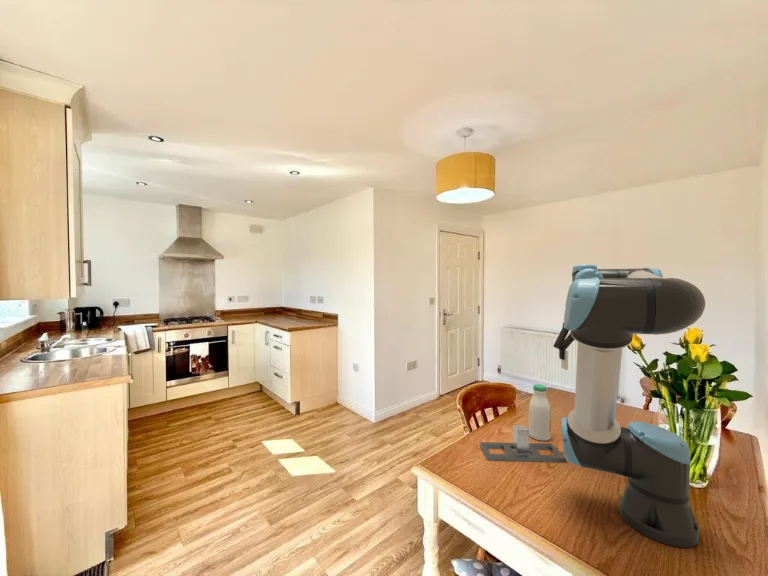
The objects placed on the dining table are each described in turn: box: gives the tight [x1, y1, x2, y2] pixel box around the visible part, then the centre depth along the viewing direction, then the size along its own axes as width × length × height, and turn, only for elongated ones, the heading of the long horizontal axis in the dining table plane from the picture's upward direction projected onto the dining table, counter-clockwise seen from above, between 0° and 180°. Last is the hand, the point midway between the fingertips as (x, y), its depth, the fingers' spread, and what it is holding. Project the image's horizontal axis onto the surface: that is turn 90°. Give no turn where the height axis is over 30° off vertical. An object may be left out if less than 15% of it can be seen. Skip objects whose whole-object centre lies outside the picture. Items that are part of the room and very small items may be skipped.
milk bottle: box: [528, 383, 552, 442], centre depth 125 cm, size 8×8×20 cm
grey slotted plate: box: [479, 441, 567, 463], centre depth 113 cm, size 10×26×1 cm, turn 88°
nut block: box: [512, 424, 530, 455], centre depth 113 cm, size 4×4×9 cm
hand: (583, 368), depth 113 cm, fingers open, 13 cm apart
